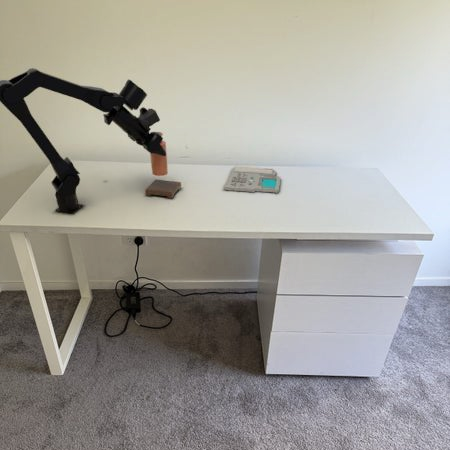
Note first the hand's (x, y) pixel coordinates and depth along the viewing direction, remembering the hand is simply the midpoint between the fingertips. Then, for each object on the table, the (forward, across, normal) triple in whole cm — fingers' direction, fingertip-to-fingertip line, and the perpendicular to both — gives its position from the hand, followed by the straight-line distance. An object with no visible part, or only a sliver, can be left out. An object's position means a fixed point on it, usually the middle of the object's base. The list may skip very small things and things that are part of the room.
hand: (162, 152), depth 134 cm
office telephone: (+34, -9, -15) cm, 38 cm away
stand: (+8, -2, +10) cm, 14 cm away
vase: (+4, 0, +6) cm, 7 cm away
